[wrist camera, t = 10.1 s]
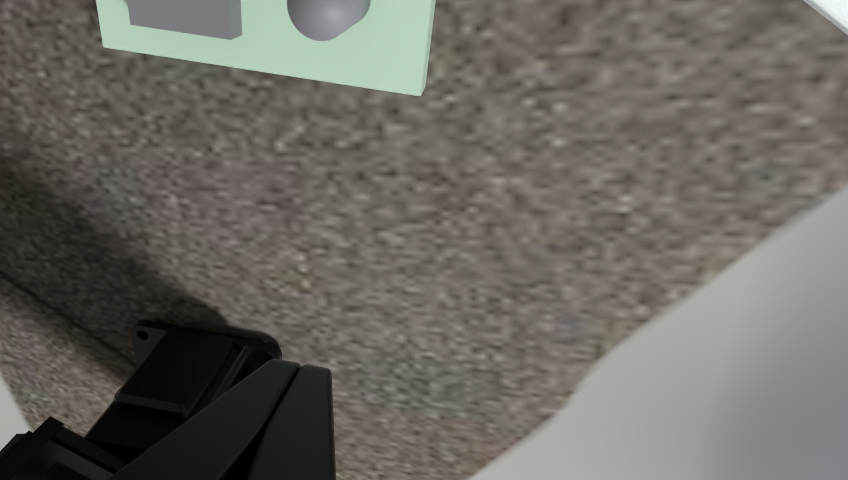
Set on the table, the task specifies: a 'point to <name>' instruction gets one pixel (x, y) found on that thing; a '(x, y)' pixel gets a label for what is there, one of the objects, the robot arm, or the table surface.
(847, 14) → the external hard drive
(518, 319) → the table surface
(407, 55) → the board
